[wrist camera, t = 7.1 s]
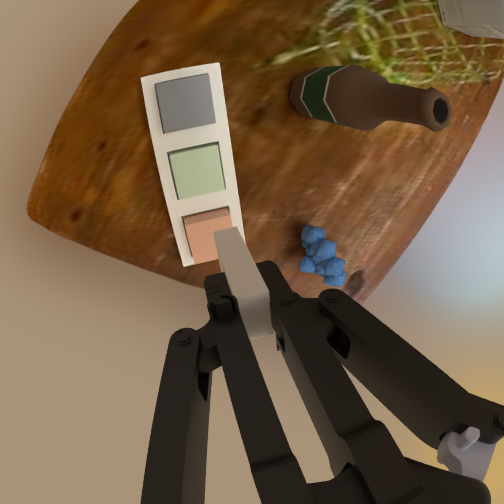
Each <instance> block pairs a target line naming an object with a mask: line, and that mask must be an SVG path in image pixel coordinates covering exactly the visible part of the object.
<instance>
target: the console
mask: <svg viewBox="0 0 504 504" xmlns="http://www.w3.org/2000/svg"><path fill="white" fill-rule="evenodd" d="M205 74H209V79H210V85H211V92H212V99H213V106H214V113H215V119H216V123H211V124H205V125H200V126H195V127H190V128H185V129H181V130H176V131H172V132H168V133H165V132H164V127H163V122H162V116H161V111H160V105H159V100H158V94H157V88H156V84H159V83H163V82H167V81H172V80H177V79H182V78H187V77H193V76H199V75H205ZM141 83H142V89H143V95H144V100H145V106H146V111H147V117H148V122H149V127H150V132H151V137H152V142H153V147H154V151H155V156H156V161H157V165H158V170H159V174H160V178H161V183H162V187H163V191H164V195H165V199H166V203H167V207H168V211H169V215H170V219H171V223H172V226H173V230H174V234H175V238H176V241H177V245H178V248H179V252H180V255H181V259H182V262H183V266H184V267H185V266H189V265H193V264H195V263H194V259H193V255H192V252H191V248H190V244H189V240H188V236H187V232H186V228H185V222H184V216H188V215H192V214H197V213H201V212H205V211H210V210H214V209H218V208H223V207H227V209H228V211H229V213H230V215H231V220H232V226H233V227H236V226H237V228H238V230H239V232H240V234H241V236H242V238H243V240H244V242H245V236H244V230H243V223H242V216H241V209H240V203H239V196H238V189H237V182H236V175H235V168H234V161H233V154H232V147H231V140H230V133H229V126H228V119H227V112H226V105H225V98H224V91H223V84H222V77H221V70H220V63H212V64H205V65H199V66H193V67H187V68H182V69H177V70H172V71H167V72H162V73H158V74H154V75H149V76H145V77H141ZM211 142H215V143H216V144H217V145H218V149H219V155H220V162H221V168H222V174H223V180H224V187H225V190H222V191H217V192H212V193H208V194H203V195H199V196H195V197H190V198H186V199H182V200H179V196H178V192H177V187H176V183H175V178H174V174H173V169H172V164H171V160H170V151H174V150H178V149H182V148H187V147H192V146H196V145H201V144H206V143H211ZM245 244H246V243H245Z"/></svg>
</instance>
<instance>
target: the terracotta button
mask: <svg viewBox="0 0 504 504" xmlns="http://www.w3.org/2000/svg"><path fill="white" fill-rule="evenodd" d="M184 222H185V228H186V232H187V236H188V240H189V244H190V248H191V252H192V255H193V259H194V263H195V264H199V263H203V262H207V261H211V260H215V259H218V255H217V250H216V245H215V240H214V235H213V232H214V231H219V230H223V229H227V228H232V227H233V226H232V220H231V215H230V213H229V211H228V209H227V207H223V208H218V209H214V210H210V211H205V212H201V213H197V214H192V215H188V216H184Z"/></svg>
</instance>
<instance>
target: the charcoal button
mask: <svg viewBox="0 0 504 504" xmlns="http://www.w3.org/2000/svg"><path fill="white" fill-rule="evenodd" d="M156 88H157V94H158V100H159V105H160V111H161V116H162V122H163V127H164V132H165V133H168V132H172V131H176V130H181V129H185V128H190V127H195V126H200V125H205V124H211V123H216V119H215V113H214V106H213V99H212V92H211V85H210V79H209V74H205V75H199V76H193V77H187V78H182V79H177V80H172V81H167V82H163V83H159V84H156Z"/></svg>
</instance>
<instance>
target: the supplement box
mask: <svg viewBox="0 0 504 504" xmlns="http://www.w3.org/2000/svg"><path fill="white" fill-rule="evenodd" d="M438 5H439V9H440V14H441V19H442V24H443V25H444V26H447V27H450V28H452V29H455V30H457V31H460V32H462V33H465V34H467V35H470V36H472V37H490V38H501V39H504V0H438Z"/></svg>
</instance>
